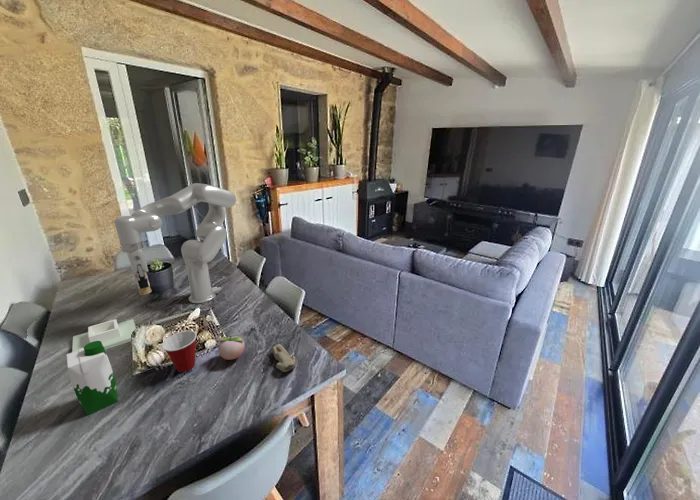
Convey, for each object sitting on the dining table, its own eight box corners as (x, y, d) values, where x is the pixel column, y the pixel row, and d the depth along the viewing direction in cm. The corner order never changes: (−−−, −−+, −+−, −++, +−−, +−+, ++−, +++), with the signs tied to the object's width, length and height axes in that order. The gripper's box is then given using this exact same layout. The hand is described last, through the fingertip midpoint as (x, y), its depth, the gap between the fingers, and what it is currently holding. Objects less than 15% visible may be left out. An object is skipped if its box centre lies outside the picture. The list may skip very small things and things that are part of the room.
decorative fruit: (218, 368, 103) (214, 345, 100) (221, 354, 110) (217, 332, 107) (245, 364, 105) (242, 341, 102) (246, 350, 113) (244, 328, 110)
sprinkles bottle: (151, 293, 126) (144, 265, 121) (139, 296, 123) (131, 268, 119) (151, 289, 129) (144, 262, 125) (139, 292, 127) (131, 264, 122)
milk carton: (122, 401, 89) (105, 348, 82) (83, 419, 83) (61, 363, 76) (117, 385, 95) (101, 334, 88) (81, 401, 89) (60, 348, 82)
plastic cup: (171, 360, 107) (164, 333, 103) (203, 353, 110) (198, 327, 106) (164, 381, 97) (157, 352, 93) (200, 373, 101) (194, 345, 97)
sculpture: (266, 357, 111) (281, 379, 99) (266, 346, 110) (280, 366, 98) (284, 351, 115) (300, 371, 103) (283, 340, 114) (300, 359, 102)
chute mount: (133, 321, 130) (131, 311, 128) (138, 338, 118) (135, 327, 117) (74, 339, 117) (69, 328, 115) (73, 360, 106) (68, 348, 104)
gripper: (147, 249, 115) (157, 289, 121) (140, 239, 127) (150, 276, 133) (123, 253, 110) (135, 295, 117) (119, 242, 122) (130, 281, 129)
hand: (143, 285), depth 125 cm, fingers closed on sprinkles bottle, 4 cm apart
